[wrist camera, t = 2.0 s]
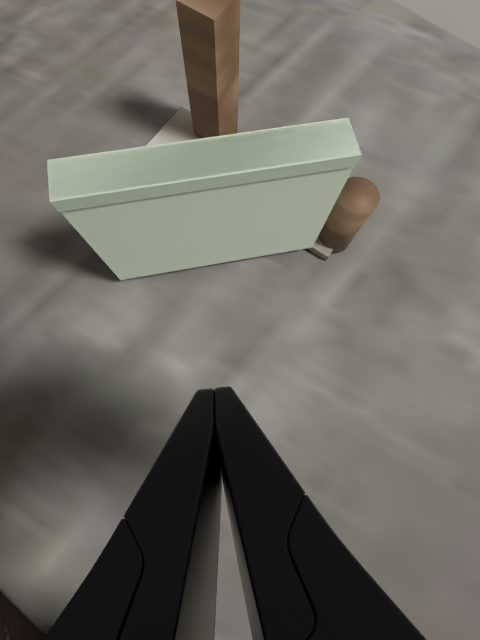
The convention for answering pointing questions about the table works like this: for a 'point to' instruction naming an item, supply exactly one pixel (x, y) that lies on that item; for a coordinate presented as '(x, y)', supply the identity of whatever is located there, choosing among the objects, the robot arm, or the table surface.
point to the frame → (222, 108)
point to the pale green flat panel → (205, 196)
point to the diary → (16, 623)
